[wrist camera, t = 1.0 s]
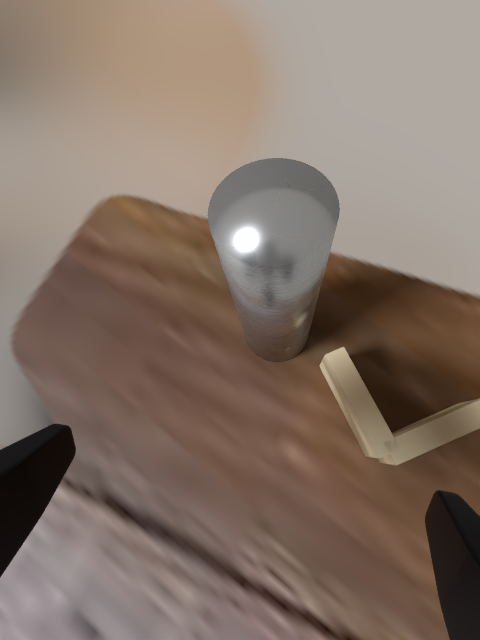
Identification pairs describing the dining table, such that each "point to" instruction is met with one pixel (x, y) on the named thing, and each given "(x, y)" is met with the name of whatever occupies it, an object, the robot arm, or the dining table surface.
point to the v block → (373, 426)
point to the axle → (274, 249)
